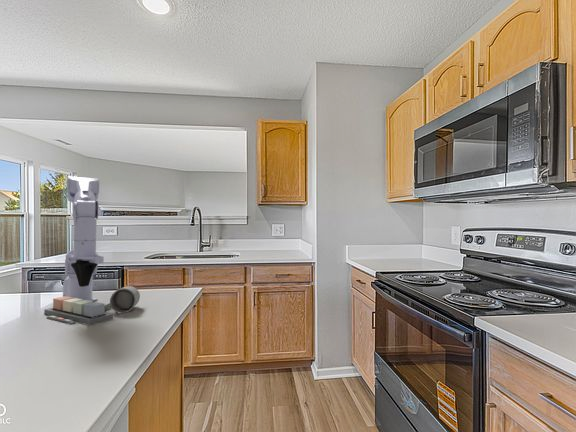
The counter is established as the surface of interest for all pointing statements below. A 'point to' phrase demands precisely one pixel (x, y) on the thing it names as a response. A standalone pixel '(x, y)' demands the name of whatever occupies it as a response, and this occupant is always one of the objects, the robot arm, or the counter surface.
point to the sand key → (70, 304)
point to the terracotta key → (60, 302)
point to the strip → (61, 319)
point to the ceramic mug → (123, 299)
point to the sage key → (80, 306)
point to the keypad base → (78, 316)
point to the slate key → (94, 309)
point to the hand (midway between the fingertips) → (83, 286)
